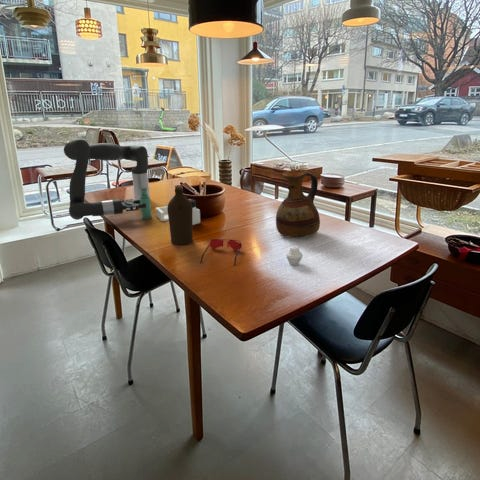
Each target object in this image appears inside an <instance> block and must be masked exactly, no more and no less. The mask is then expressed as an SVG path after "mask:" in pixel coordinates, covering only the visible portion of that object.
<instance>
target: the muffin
mask: <svg viewBox="0 0 480 480" xmlns="http://www.w3.org/2000/svg"><path fill="white" fill-rule="evenodd" d="M285 256H286V259H287V261H288V262H289V264H290V265H291V266H298V265H299V264H300V262H301V261H302V258H303V253H302V252H301V250H300V248H299V247H298V246H291V247H290V249H289V250H288V252H286V254H285Z"/></svg>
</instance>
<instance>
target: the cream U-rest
mask: <svg viewBox="0 0 480 480" xmlns="http://www.w3.org/2000/svg"><path fill="white" fill-rule="evenodd" d="M167 207H168V205H167V206H165V205H164V206H158V207H155V214H156V217H157V218H158V219H159V220H160V221H161V222H165V221H166V222H167V221H169V218H168V210H167Z"/></svg>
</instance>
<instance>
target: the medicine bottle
mask: <svg viewBox="0 0 480 480" xmlns="http://www.w3.org/2000/svg"><path fill="white" fill-rule="evenodd" d="M187 199H188V200H189V201H190V202H191V204H192V226H195V225H198V224H201V210H200V209H199V208H197V202H196V200H195V199H191V198H187Z"/></svg>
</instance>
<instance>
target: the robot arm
mask: <svg viewBox="0 0 480 480" xmlns="http://www.w3.org/2000/svg"><path fill="white" fill-rule="evenodd" d="M63 153H64V155H65V156H66V157H67V158H68V159H70V160H71V161H75V166H74V169H73V172H72V175H71V177H70V181H69V208H68V212H69V213H68V215H69V216H70V218H72V219H74V220H75V221H77V220H81V219H83V218H84V217H90V216H92V217H100V216H101V217H102V216H113V215H121V214H123V213H124V210H125V211H126V212H135V211H138V210H139V209H141V208H146V204H145V203H143V204H140V197H141V195H142V190H141V188H143V187H146V188H147V195H148V196H149V197H150V198H151V196H150V186H149V183H150V182H149V174H148V168H149V154H148V150H147V148H146V147H145V146H143V145H137V144H136V145H133V144H132V145H119V144H115V143H110V142H102V143H101V142H100V143H99V142H98V143H94V144H89V143H88V141H86V140H85V139H82V138H77V139H75V140H72V141H68V143H66V144H65V145H64V147H63ZM89 160H95V161H97V160H98V161H110V162H113V161H119V160H127V161H132V162H136V166H134V167H131V179H132V184H133V185H132V186H133V187H132V188H133V195H134V197H133V199H132V198H131V199H124V200H121V199H120V198H115V199H108V200H107V199H106V200H103V201H93V202H85V198H86V178H87V171H88V165H89Z"/></svg>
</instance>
